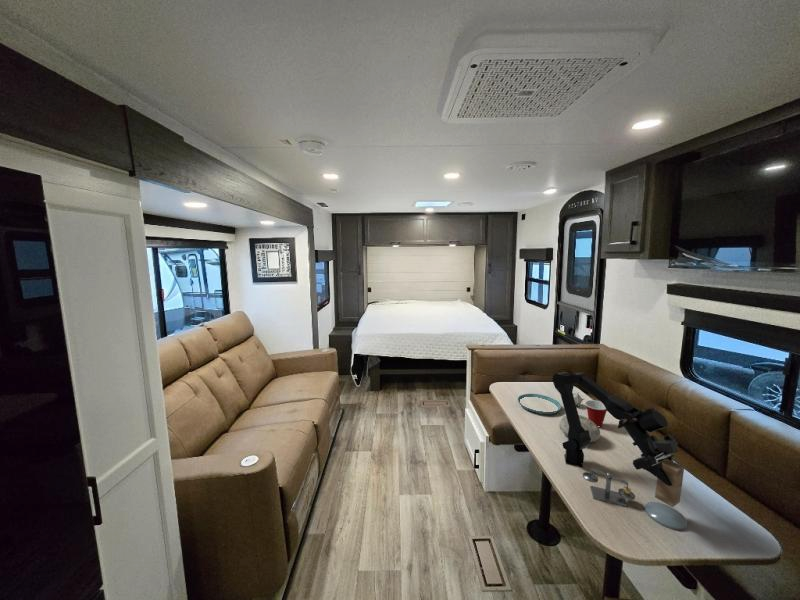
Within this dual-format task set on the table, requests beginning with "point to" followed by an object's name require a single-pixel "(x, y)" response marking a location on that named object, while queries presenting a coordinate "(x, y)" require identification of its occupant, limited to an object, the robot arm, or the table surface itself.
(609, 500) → the balance
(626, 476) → the table surface
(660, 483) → the walnut block
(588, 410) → the plastic cup
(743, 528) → the table surface
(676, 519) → the slate dish
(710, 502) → the table surface
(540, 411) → the teal ring
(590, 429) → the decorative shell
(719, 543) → the table surface
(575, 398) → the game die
